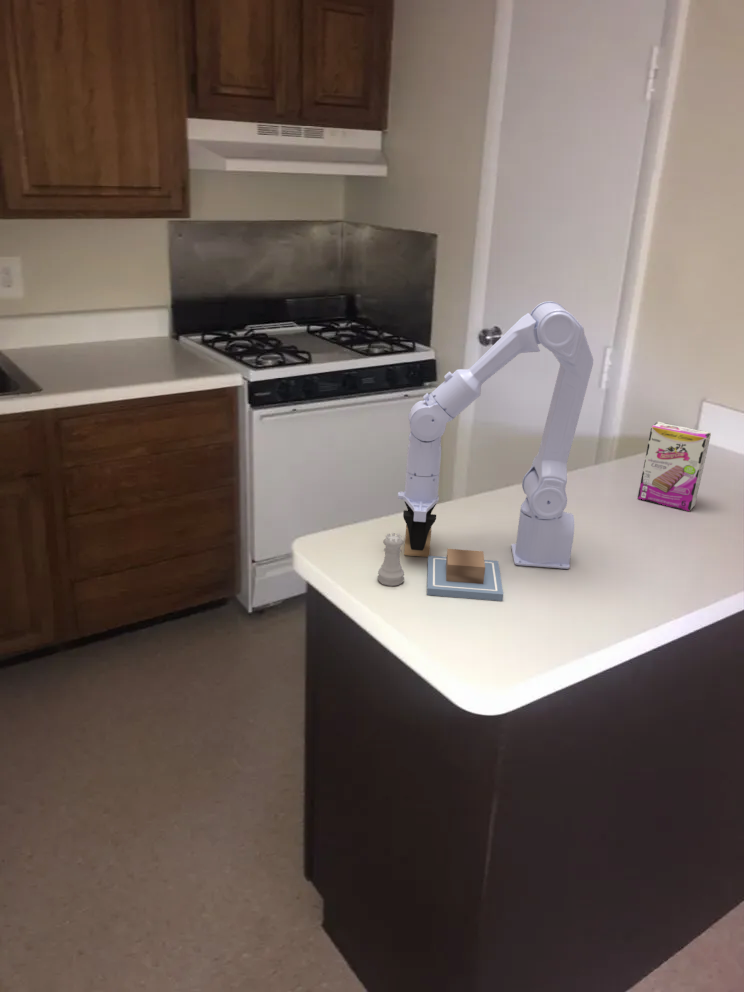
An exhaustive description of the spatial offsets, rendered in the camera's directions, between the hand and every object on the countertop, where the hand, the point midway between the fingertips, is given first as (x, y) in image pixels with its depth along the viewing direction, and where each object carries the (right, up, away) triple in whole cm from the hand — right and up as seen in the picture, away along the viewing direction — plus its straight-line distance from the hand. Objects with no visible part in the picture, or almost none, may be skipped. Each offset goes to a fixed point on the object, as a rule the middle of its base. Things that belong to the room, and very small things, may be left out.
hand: (417, 543), depth 146 cm
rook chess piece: (-5, -6, -10) cm, 13 cm away
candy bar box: (+54, +7, +29) cm, 62 cm away
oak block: (0, -1, +1) cm, 1 cm away
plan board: (+7, -6, -9) cm, 13 cm away
